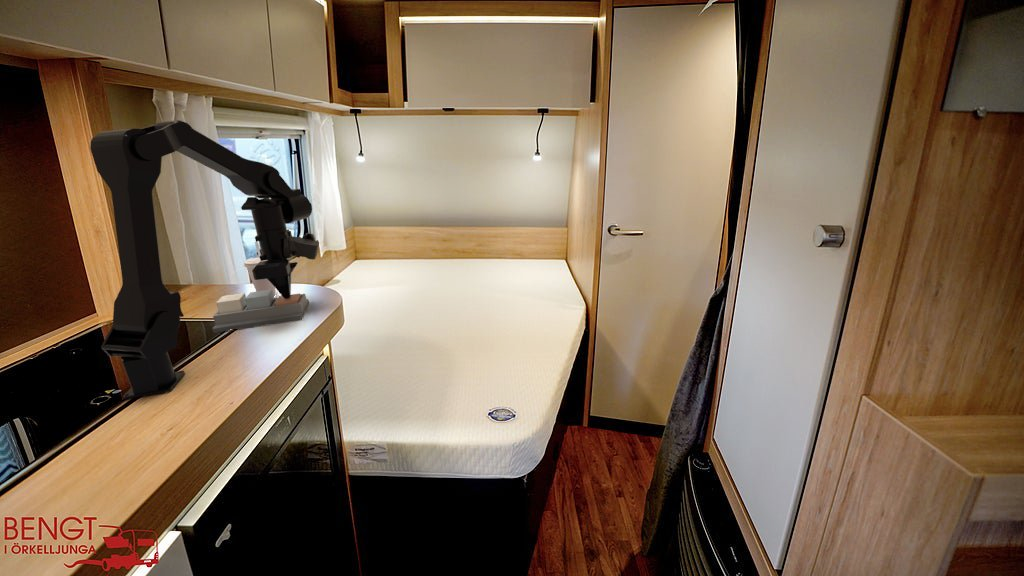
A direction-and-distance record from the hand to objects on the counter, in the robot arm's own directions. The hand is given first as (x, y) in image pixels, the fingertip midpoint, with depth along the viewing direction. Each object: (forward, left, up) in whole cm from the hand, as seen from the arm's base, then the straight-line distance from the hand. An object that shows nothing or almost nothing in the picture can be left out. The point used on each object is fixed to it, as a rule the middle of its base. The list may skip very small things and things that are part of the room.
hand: (287, 298), depth 103 cm
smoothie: (+15, +8, -4) cm, 17 cm away
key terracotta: (0, 0, -3) cm, 3 cm away
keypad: (0, +5, -4) cm, 7 cm away
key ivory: (0, +11, -1) cm, 11 cm away
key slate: (0, +5, -1) cm, 6 cm away
